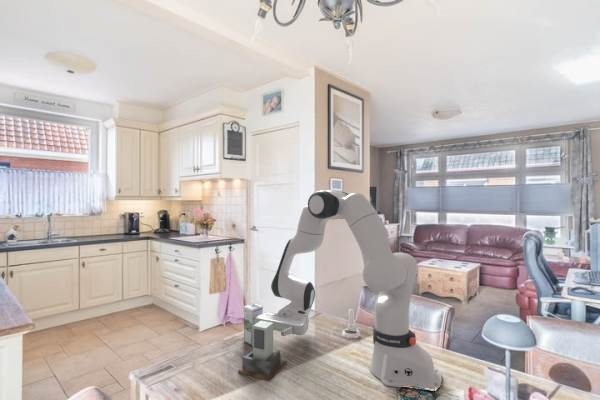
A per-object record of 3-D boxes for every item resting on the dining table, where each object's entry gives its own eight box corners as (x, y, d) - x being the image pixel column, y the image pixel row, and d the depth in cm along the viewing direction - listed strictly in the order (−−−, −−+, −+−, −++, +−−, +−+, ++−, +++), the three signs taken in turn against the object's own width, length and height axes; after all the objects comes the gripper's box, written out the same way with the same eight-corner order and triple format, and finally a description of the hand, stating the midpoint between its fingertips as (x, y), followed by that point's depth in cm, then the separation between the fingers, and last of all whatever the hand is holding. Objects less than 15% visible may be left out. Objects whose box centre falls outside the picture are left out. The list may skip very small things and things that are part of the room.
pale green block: (273, 363, 109) (273, 322, 109) (265, 371, 104) (265, 328, 104) (260, 360, 111) (260, 320, 111) (252, 367, 106) (252, 326, 106)
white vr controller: (355, 314, 143) (361, 310, 138) (356, 343, 136) (363, 339, 131) (339, 312, 142) (345, 307, 137) (339, 340, 135) (346, 337, 129)
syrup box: (263, 341, 128) (263, 305, 128) (251, 346, 124) (251, 309, 124) (254, 337, 132) (254, 302, 132) (243, 341, 128) (243, 305, 128)
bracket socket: (286, 363, 111) (286, 349, 111) (269, 381, 100) (269, 365, 100) (257, 356, 116) (257, 342, 116) (238, 372, 105) (238, 357, 105)
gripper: (265, 306, 129) (246, 317, 117) (311, 313, 121) (296, 327, 108) (265, 321, 130) (246, 334, 117) (311, 330, 121) (296, 345, 108)
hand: (270, 331), depth 113 cm, fingers open, 8 cm apart
